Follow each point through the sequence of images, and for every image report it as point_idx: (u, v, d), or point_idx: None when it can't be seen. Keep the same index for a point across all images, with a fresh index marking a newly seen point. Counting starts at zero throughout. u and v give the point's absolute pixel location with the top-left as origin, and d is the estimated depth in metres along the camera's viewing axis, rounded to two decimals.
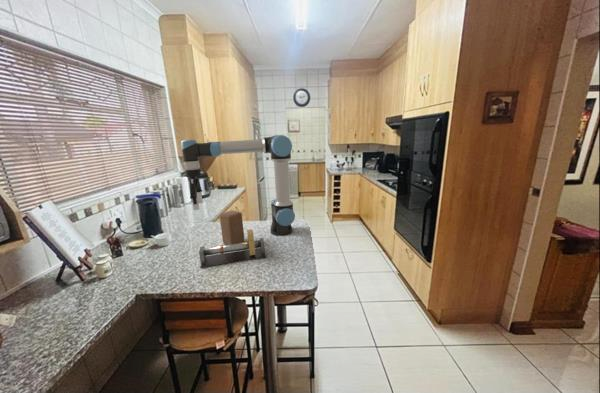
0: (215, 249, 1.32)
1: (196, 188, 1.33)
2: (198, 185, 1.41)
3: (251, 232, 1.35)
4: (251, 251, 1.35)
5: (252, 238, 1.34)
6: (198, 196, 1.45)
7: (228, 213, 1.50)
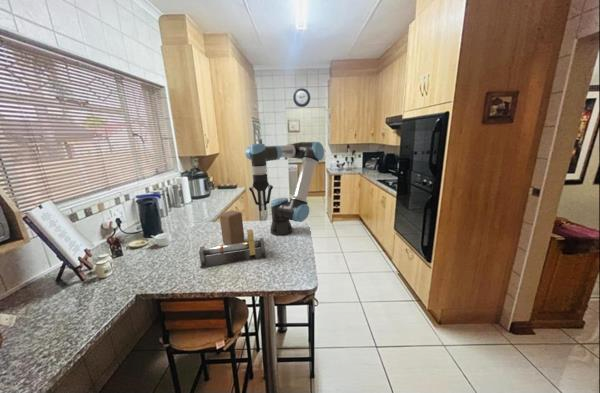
0: (215, 249, 1.32)
1: (259, 195, 1.32)
2: (263, 193, 1.32)
3: (251, 232, 1.35)
4: (251, 251, 1.35)
5: (252, 238, 1.34)
6: None
7: (228, 213, 1.50)
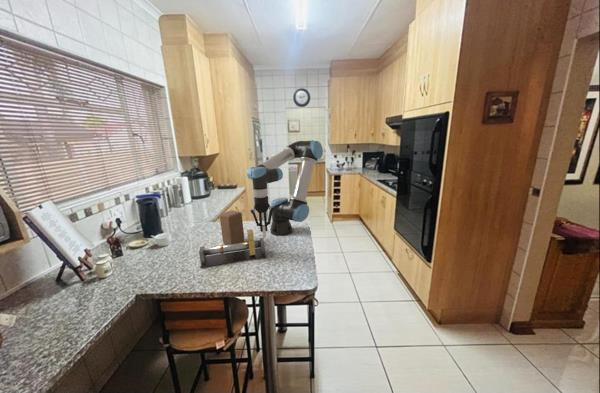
0: (215, 249, 1.32)
1: (260, 216, 1.35)
2: (264, 215, 1.35)
3: (251, 232, 1.35)
4: (251, 251, 1.35)
5: (252, 238, 1.34)
6: None
7: (228, 213, 1.50)
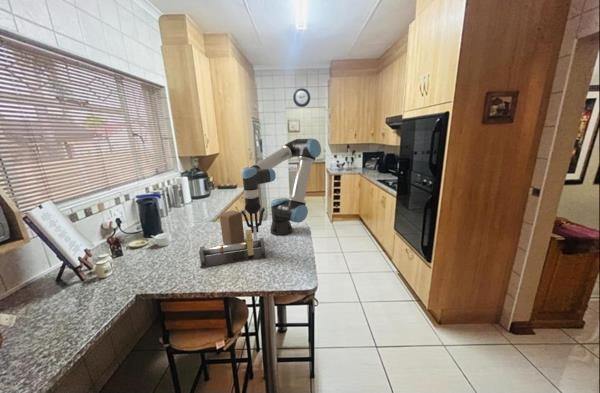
0: (215, 249, 1.32)
1: (251, 217, 1.33)
2: None
3: (249, 232, 1.35)
4: (249, 251, 1.35)
5: (250, 238, 1.34)
6: None
7: (228, 213, 1.50)
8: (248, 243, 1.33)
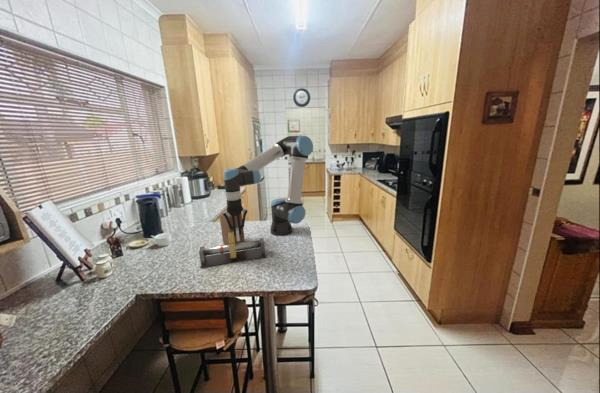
0: (215, 249, 1.32)
1: (233, 220, 1.31)
2: (237, 218, 1.32)
3: (232, 235, 1.33)
4: (232, 254, 1.32)
5: (233, 241, 1.32)
6: None
7: (228, 213, 1.50)
8: (230, 246, 1.31)
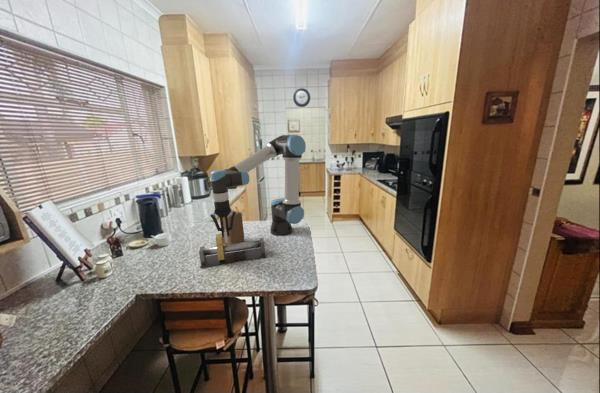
0: (215, 249, 1.32)
1: (221, 221, 1.30)
2: (225, 220, 1.30)
3: (220, 236, 1.31)
4: (220, 256, 1.31)
5: (220, 243, 1.31)
6: None
7: None
8: (218, 247, 1.30)
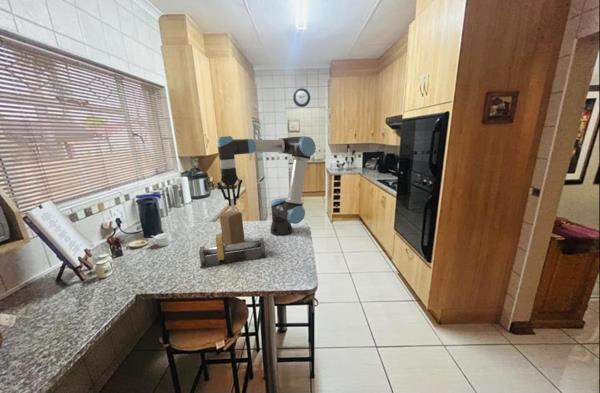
0: (215, 249, 1.32)
1: (228, 189, 1.27)
2: (232, 188, 1.28)
3: (219, 236, 1.31)
4: (219, 256, 1.31)
5: (220, 243, 1.31)
6: None
7: (228, 213, 1.50)
8: (218, 247, 1.30)
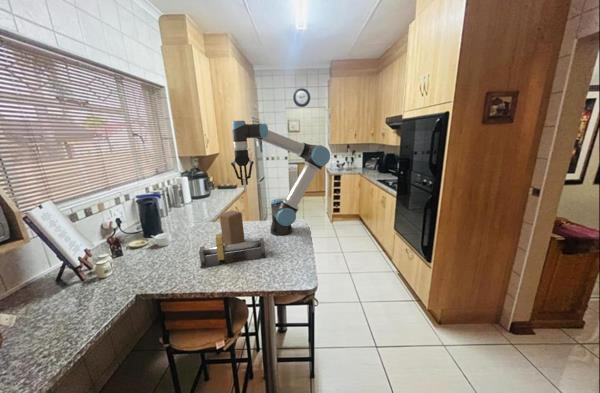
0: (215, 249, 1.32)
1: (240, 169, 1.40)
2: (244, 168, 1.40)
3: (219, 236, 1.31)
4: (219, 256, 1.31)
5: (220, 243, 1.31)
6: None
7: (228, 213, 1.50)
8: (218, 247, 1.30)
